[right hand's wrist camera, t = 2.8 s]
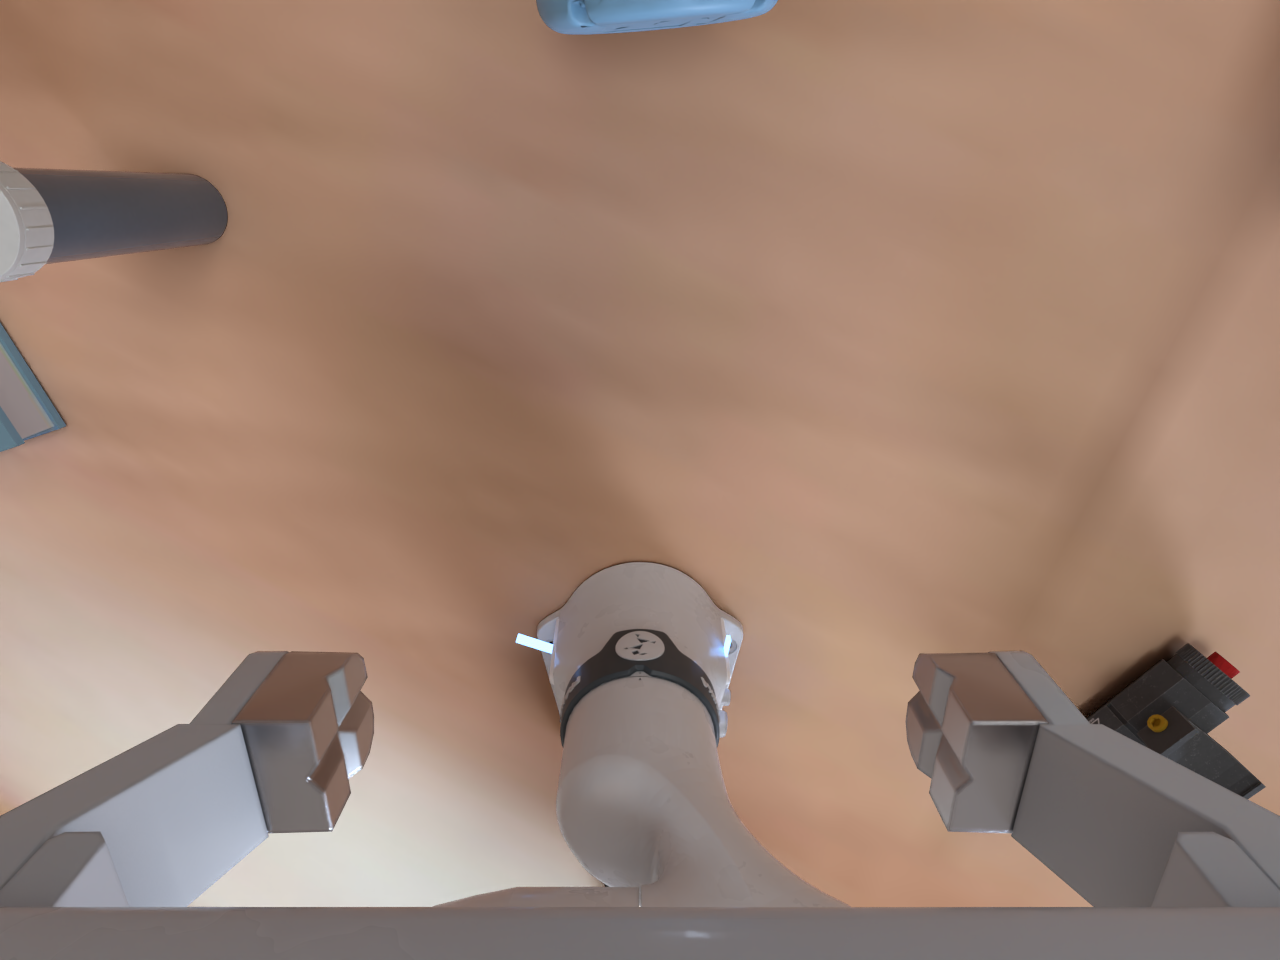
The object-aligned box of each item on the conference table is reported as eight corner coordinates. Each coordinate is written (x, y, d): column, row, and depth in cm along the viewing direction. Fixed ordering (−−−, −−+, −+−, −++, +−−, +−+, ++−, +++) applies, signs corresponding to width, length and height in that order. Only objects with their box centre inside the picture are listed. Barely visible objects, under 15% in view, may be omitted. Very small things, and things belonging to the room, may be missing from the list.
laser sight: (982, 764, 72) (1032, 849, 63) (1169, 613, 66) (1256, 682, 57) (1045, 810, 75) (1103, 899, 65) (1233, 668, 68) (1327, 744, 59)
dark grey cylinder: (179, 158, 52) (-67, 141, 34) (240, 206, 53) (33, 215, 35) (147, 212, 53) (-106, 224, 35) (206, 258, 55) (-9, 292, 36)
